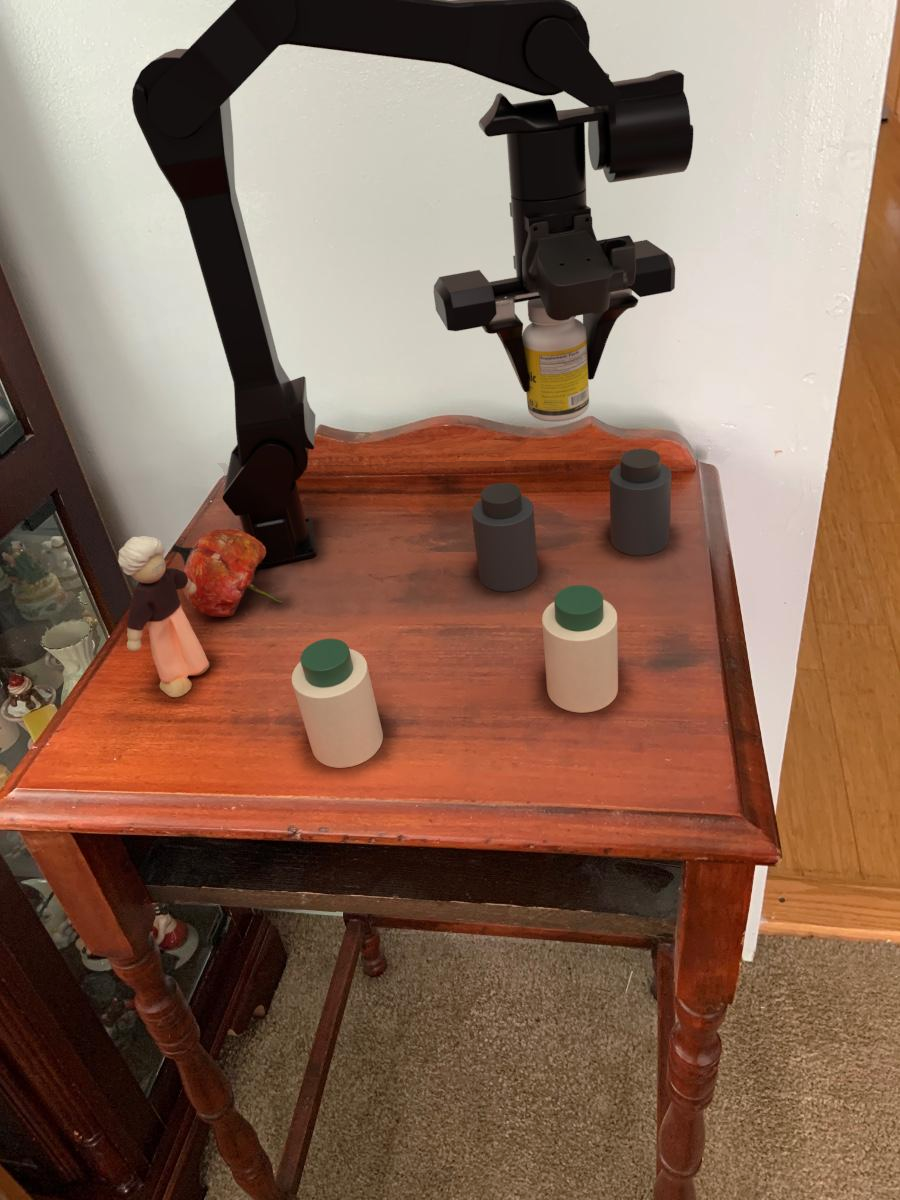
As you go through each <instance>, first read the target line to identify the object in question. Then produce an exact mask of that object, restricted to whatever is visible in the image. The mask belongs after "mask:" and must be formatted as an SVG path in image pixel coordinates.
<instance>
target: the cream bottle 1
mask: <svg viewBox="0 0 900 1200" xmlns="http://www.w3.org/2000/svg"><path fill="white" fill-rule="evenodd" d="M299 661H300V662H298V663H297V665H295V667H294V669H293V670H292V674H291V684H292V688H293V691H294V694H295V697H296V701H297V704H298V708H299V711H300V715H301V718H302V723H303V725H304V728H305V731H306V734H307V739H308V742H309V745H310V748H311V752H312V754H313V756H314V758H315V759H316V761H318V762H319V763H321V764H322V765H324V766H327V767H329V768H333V769H334V768H335V769H346V768H352V767H356V766H359V765H361V764H363V763H365V762H367V761H369V760H371V758H372V757H373V756H375V755H376V753H377V752H378V751H379V750H380V748H381V745H382V743H383V740H384V733H383V728H382V725H381V719H380V716H379V715H380V714H379V711H378V707H377V701H376V698H375V693H374V689H373V685H372V680H371V676H370V671H369V667H368V662H367V660H366V658H365V656H364V655H362V654H361V653H360V652H358V651H357V650H355V649H352V648H350V647H349V645H348V644H347V643H346V642H345V641H343V640H342V639H338V638H323V639H320V640H319V639H318V640H317V641H314V642H312V643H310V644H309V645H308V646H306V647H305V648H304V649H303V650H302V652H301V654H300V658H299Z"/></svg>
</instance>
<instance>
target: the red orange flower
mask: <svg viewBox="0 0 900 1200" xmlns="http://www.w3.org/2000/svg"><path fill="white" fill-rule="evenodd" d="M172 553H178V554H180V555H181V558H182V561H183V562H182V563H183V570H182V571H183V572H185V573H186V575H187V577H188V578H189V579H190V581H191V582H192V583H194V584H195V585H196V588H197V589H196V592H195V593H194V594H192V595H187V594H185V593H184V592H183V593H184V596H185V598H186V600H187V601H188V602H189V603H190V604H191V606H192V607H193V608H194V609H195V610H197V611H198V612H199V613H201V614H202V615H206V616H209V617H216V618H228V617H230V616H234V614H235V612H236V610H237V608H238V606H239V604H240V601H241V600H242V599H243V596H244V593H245V590H246V589H249V590H251V591H252V592H254V593H255V594H257V595H260V596H264V597H266V598H268V599H270V600H272V601H274V602H276V603H278V604H280V605H281V604H282V601H281V600H278V599H276V598H275V597H273V596H271V594H268V593H267V592H265V591H263V590H260V589H258V588H257V587H256V586H255V585H253V584H252V582H253V581H254V579H255V572H256V570H257V569H256V567H257V566H258V565H259V564H260V563H261V562H262V560H263V559H264V557H265V555H266V548H265V547H264V545H263V544H262V543H261V542H260V541H258V540H257V539H255V537H253V536H251V535H249V534H247V533H245V532H244V531H243V530H242V529H241V530H240V529H238V528H237V529H236V528H226V529H225V528H223V529H215V530H212V531H210V532H208V533H206V534H205V535H204V536H201V537H200V538H199V539H198V540H197V542H196V543H194V545H193V547H184V546H179V545H177V544H176V543H174V544H173V545H172V547H171V549H169V551H168V554H172Z"/></svg>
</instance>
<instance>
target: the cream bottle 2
mask: <svg viewBox="0 0 900 1200" xmlns="http://www.w3.org/2000/svg"><path fill="white" fill-rule="evenodd" d="M541 623H542V624H541V625H542V638H543V639H542V640H543V653H544V665H545V679H546V680H545V681H546V692H547V695H548V697H549V699H550V700H551V702H552V703H553V704H554V705H556V706H557V707H558V708H560V709H562V710H565V711H567V712H571V713H577V714H580V713H581V714H582V713H583V714H585V713H593V712H597V711H600V710H602V709H604V708H606V707H608V706H609V705H610V704H611V703H612V702H614V700H615V699H616V697H617V695H618V692H619V657H618V656H619V655H618V654H619V653H618V651H619V648H618V647H619V646H618V641H619V639H618V636H619V635H618V613H617V611H616V609H615V607H614V606H613V605H612V604H611V603H610V602H609V601H608V600H606V599H604V596H603V594H602V593H601V592H600V591H599V590H598V589H597V588H595V587H592V586H589V585H585V584H584V585H583V584H576V585H569V586H567V587H564V588H563V589H561V590H560V591H558V592H557V593H556V595H555V596H554V601H553V602H551V603H550V604H549V605H547V607H545V609H544V611H543V613H542V615H541Z"/></svg>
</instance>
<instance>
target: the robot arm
mask: <svg viewBox="0 0 900 1200" xmlns="http://www.w3.org/2000/svg"><path fill="white" fill-rule="evenodd" d="M590 36H591V35H590V33H589V28H588V24H587V21H586V19H585V17H584V16H583V14H582V12H581V10H580V9H579V8H578V6H576V5H575V4H574V3H572V2H571V1H569V0H234V1H233V2H232V3H231V5H229V6H228V8H227V9H225V10H224V12H223V13H222V14H221V15H220V16H219V17H218V18H217V19H215V21H214V22H213V23H212V24H211V25H210V26H209V27H208V28H207V29H206V30H205V31H204V32H203V33H202V34H201V35H200V36H199V37H198V38H197V39H196V40H195V41H194V42H193V43H192V44H191V45H190V47H189V48H175V49H172V50H169V51H166V52H164V53H163V54H161V55H159V56H158V57H156V58H155V59H153V60H152V61H151V62H149V63H148V64H147V65H146V66H145V67H144V68H143V69H142V70H141V71H140V72H139V75H138V76H137V78H136V80H135V82H134V86H133V88H132V92H131V93H132V95H131V102H132V109H133V113H134V114H133V115H134V117H135V120H136V122H137V124H138V126H139V128H140V131H141V133H142V135H143V137H144V139H145V141H146V143H147V145H148V147H149V149H150V152H151V154H152V156H153V158H154V160H155V162H156V164H157V166H158V168H159V169H160V171H161V173H162V174H163V176H164V177H165V179H166V181H167V183H168V184H169V186H170V188H171V189H172V190H173V192H174V193H175V195H176V197H177V198H178V200H179V202H180V204H181V207H182V210H183V212H184V215H185V220H186V222H187V226H188V230H189V233H190V236H191V241H192V243H193V246H194V250H195V254H196V258H197V261H198V264H199V267H200V271H201V275H202V278H203V281H204V285H205V289H206V293H207V296H208V299H209V302H210V306H211V309H212V313H213V316H214V319H215V323H216V327H217V330H218V334H219V337H220V340H221V344H222V346H223V351H224V355H225V358H226V361H227V365H228V368H229V371H230V375H231V379H232V382H233V389H234V391H233V392H234V416H235V418H234V419H235V434H236V445H235V446H234V448H233V449H232V451H231V452H230V453H231V454H230V458H229V462H228V468H227V472H226V478H225V483H224V488H223V494H222V501H223V502H224V504H226V506H227V507H228V509H229V510H230V511H231V512H232V514H233V515H234V516H237V517H238V518H239V521H240V524H241V528H242V531H243V532H245V533H247V534H249V535H251V536H253V537H255V539H257V540H258V541H260V542H261V543H262V544H263V545H264V547H265V548H266V555H265V557H264V559H263V560H262V562H261V563H260V564H259V565H258V566H257V567H256V569H255V570H257V569H261V568H266V567H271V566H276V565H281V564H285V563H291V562H295V561H301V560H305V559H309V558H313V557H315V556H317V547H316V545H317V544H316V540H315V539H316V538H315V532H314V525H313V520H312V518H311V517H306V516H305V513H304V508H303V505H302V501H301V496H300V492H299V489H298V488H299V487H298V484H297V480H299V479H301V477H302V476H303V474H304V472H306V470H307V469H308V464H309V451H310V450H311V451H313V450H314V449H315V440H316V439H315V438H316V437H315V435H316V413H315V412H314V411H313V409H312V408H311V406H310V403H309V401H308V395H307V378H306V377H305V376H299V377H297V378H294V379H292V380H291V379H290V377H289V376H288V374H287V373H286V371H285V369H284V368H283V367H282V365H281V362H280V360H279V356H278V353H277V348H276V345H275V344H276V343H275V340H274V337H273V332H272V329H271V324H270V322H269V316H268V312H267V308H266V305H265V301H264V297H263V293H262V289H261V286H260V281H259V277H258V273H257V269H256V265H255V262H254V258H253V257H254V256H253V254H252V249H251V246H250V242H249V238H248V235H247V229H246V226H245V221H244V219H243V215H242V214H243V213H242V211H241V207H240V201H239V198H238V194H237V189H236V181H235V180H236V179H235V149H234V132H233V120H232V110H231V100H230V99H231V96H233V94H234V93H235V92H236V91H237V90H238V89H239V88H240V87H241V86H242V85H243V84H244V83H245V82H246V81H247V80H248V78H250V76H251V75H252V74H254V72H255V71H256V70H257V69H258V68H259V67H260V66H261V65H262V64H263V63H264V62H266V60H267V59H268V58H269V57H270V56H271V55H272V53H274V52H275V51H276V49H277V48H278V47H280V46H285V45H289V46H297V47H298V46H299V47H307V48H315V49H322V50H323V49H324V50H331V51H338V52H339V51H340V52H348V53H355V54H356V53H357V54H364V55H372V56H373V55H374V56H380V57H388V58H395V59H403V60H404V59H405V60H412V61H421V62H427V63H429V62H430V63H437V64H445V65H450V66H454V67H456V68H458V69H462V70H465V71H468V72H470V73H474V74H476V75H478V76H480V77H483V78H486V79H489V80H492V81H495V82H497V83H500V84H503V85H506V86H510V87H512V88H515V89H517V90H521V91H524V92H527V93H530V94H533V95H537V96H542V97H548V96H549V97H550V96H556V95H558V94H561V93H566V94H567V95H569V96H570V97H572V98H574V99H575V100H577V101H578V102H581V103H582V104H584V105H585V107H578V108H570V109H562V110H561V109H560V110H559V109H558V110H557V108H556V104H555V102H554V100H553V99H552V98H545V99H538V100H537V99H536V100H530V101H525V102H517V103H516V102H515V103H511V102H510V101H509V99H508V98H507V96H506V95H504V94H503V93H501V92H498V93H497V94H496V95H495V97H494V100H493V103H492V105H491V106H490V107H489V109H488V110H487V111H486V113H485V114H484V115H483V116H482V117H481V118H480V119H479V121H478V126H479V128H480V130H481V131H482V132H483V134H484V135H485V136H486V137H490V138H492V137H499V136H505V135H506V147H507V160H508V173H509V187H510V202H509V204H508V205H509V217H511V218H512V219H511V220H512V233H513V247H514V255H513V256H512V258H513V269H514V270H515V276H514V277H510V278H509V277H508V278H504V279H499V280H493V281H492V280H491V281H489V280H488V278H487V277H486V276H485V275H484V274H483V273H482V271H481V270H480V269H475V270H469V271H465V272H459V273H453V274H449V275H442V276H439V277H438V278H437V280H436V282H435V284H434V285H433V297H434V298H433V299H434V305H435V311H436V313H437V315H438V316H439V319H440V320H441V322H442V323H443V325H444V326H445V329H446V331H450V332H459V331H466V330H471V329H476V328H477V329H478V328H482V329H483V330H484V333H486V334H491V335H493V334H496V335H497V337H498V338H499V340H500V342H501V344H502V346H503V349H504V350H505V352H506V355H507V357H508V359H509V362H510V363H511V364H510V365H511V366H512V369H513V372H514V374H515V376H516V378H517V380H518V383H519V384H520V388H521V389H522V391H523V392H524V393H526V392H529V374H528V368H527V362H526V356H525V350H524V344H523V339H522V334H523V332H524V323H523V321H522V320H521V319H520V318H519V316H518V315H517V314H516V311H515V309H516V307H515V304H517V303H521V302H528V301H529V300H533V299H539V298H541V300H542V302H543V304H544V307H545V311H546V314H547V315H548V316H549V317H550V318H551V319H553V320H557V321H562V320H568V319H570V318H571V317H573V316H576V317H579V316H582V323H583V325H584V326H585V328H586V338H587V362H588V381H591V380H594V378H595V376H596V373H597V370H598V367H599V364H600V362H601V359H602V356H603V354H604V350H605V347H606V345H607V341H608V339H609V337H610V334H611V333H612V331H613V328H614V326H615V324H616V322H617V320H618V319H619V318H620V317H621V316H622V315H623V314H624V313H625V312H626V311H627V310H630V309H633V308H636V307H637V305H638V303H639V299H638V298H637V297H636V296H635V295H633V293H634V294H636V295H637V296H638V297H639V298H644V297H649V296H655V295H660V294H664V293H671V292H672V291H673V290H674V289H675V286H676V266H675V262H674V259H673V257H671V255H669V254H668V253H667V252H666V251H664V250H663V249H661V248H660V247H658V246H657V245H656V244H654V243H652V242H651V241H649V240H648V239H644V240H643V239H642V240H638V241H633V239H632V237H631V235H629V234H627V235H622V236H616V237H611V238H603V239H599V240H598V239H597V237H596V233H595V231H594V230H595V229H594V228H593V227H594V226H593V217H592V208H591V207H590V206H588V203H587V166H586V165H587V164H586V163H587V162H586V161H587V160H586V128H585V127H586V123H587V125H588V126H587V147H588V155H589V161H590V165H591V168H592V170H594V171H601V170H602V171H603V174H604V178H605V179H606V181H607V182H608V183H609V184H610V183H616V182H624V181H631V180H637V179H645V178H651V177H657V176H664V175H665V176H666V175H671V174H678V173H684V172H685V171H686V170H687V169H688V167H689V165H690V162H691V158H692V154H693V153H692V152H693V146H694V145H693V144H694V126H693V124H691V115H690V108H689V102H688V98H687V96H686V93H685V90H684V87H685V75H684V73H683V72H681V71H678V70H675V69H669V70H663V71H662V70H661V71H658V72H655V73H652V74H651V75H649V76H643V77H636V78H629V79H623V80H622V79H621V80H615V81H612V80H611V79H610V74H609V73H607V72H605V70H604V69H603V67H602V66H601V65H600V64H599V62H598V61H597V60H596V58H595V57H594V55H593V54H592V53H591V50H590V44H591V43H590V39H591V37H590Z"/></svg>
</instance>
